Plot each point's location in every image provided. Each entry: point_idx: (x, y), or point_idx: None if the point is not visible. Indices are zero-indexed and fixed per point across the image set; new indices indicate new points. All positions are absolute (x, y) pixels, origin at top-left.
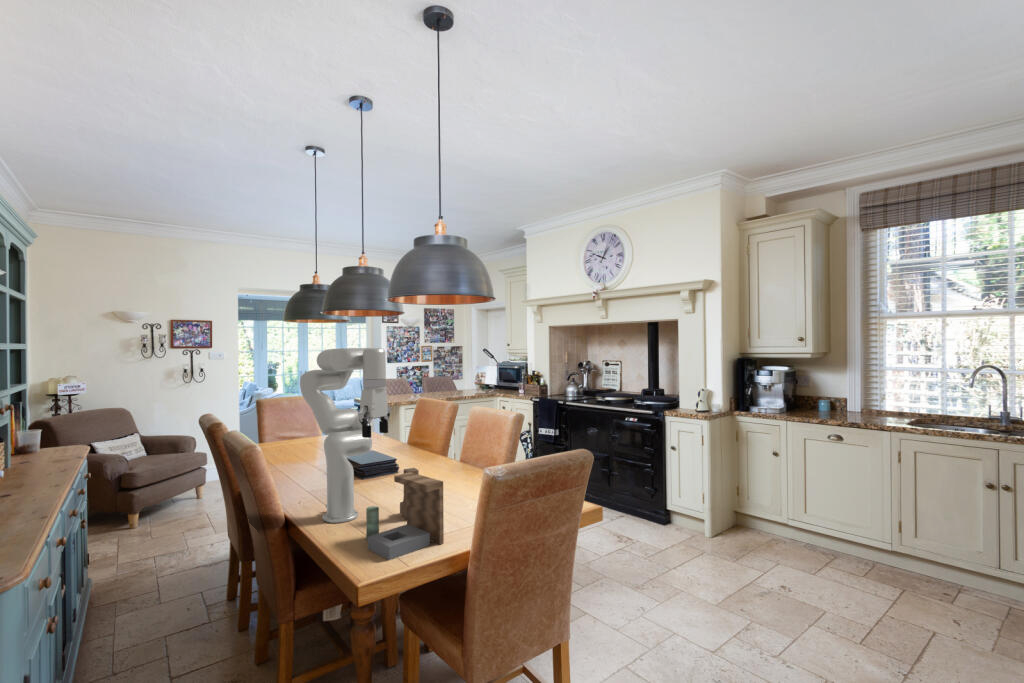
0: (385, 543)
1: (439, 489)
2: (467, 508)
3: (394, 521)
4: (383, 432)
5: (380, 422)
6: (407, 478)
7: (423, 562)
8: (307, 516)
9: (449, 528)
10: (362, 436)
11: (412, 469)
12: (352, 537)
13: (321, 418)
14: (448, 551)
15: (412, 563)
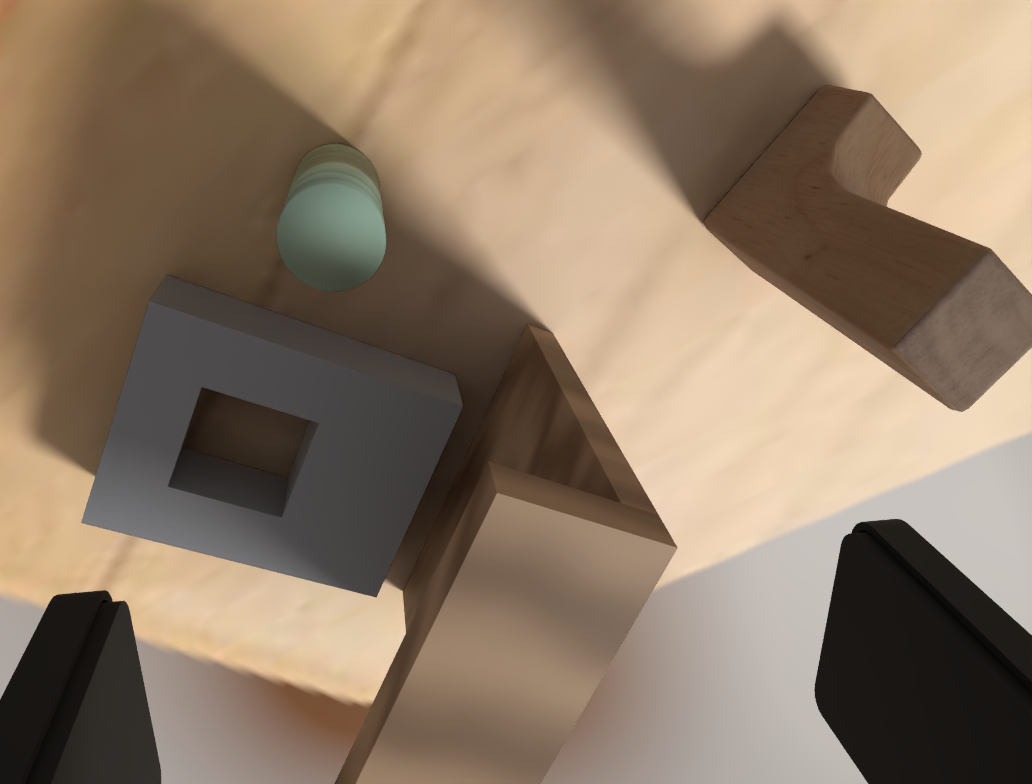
0: (111, 473)
1: None
2: (977, 449)
3: (669, 137)
4: (832, 628)
5: (1024, 762)
6: (444, 658)
7: (172, 634)
8: None
9: None
10: (55, 606)
11: (974, 352)
12: (291, 29)
13: None
14: (344, 662)
15: (134, 598)
